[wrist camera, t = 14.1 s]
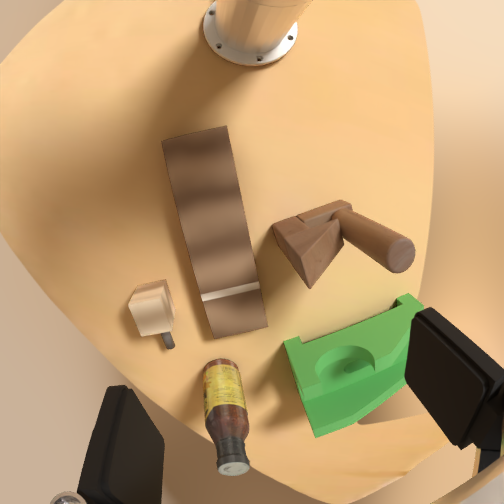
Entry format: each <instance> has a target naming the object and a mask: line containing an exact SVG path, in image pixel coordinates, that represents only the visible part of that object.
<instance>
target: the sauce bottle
mask: <svg viewBox="0 0 504 504" xmlns="http://www.w3.org/2000/svg"><path fill="white" fill-rule="evenodd" d="M203 390H204V411H205V426H206V429H207V431H208V433H209V434H210V436H211V438H212V440H213V442H214V444H215V446H216V449H217V457H218V460H217V468H218V471H219V472H220V473H221V474H223V475H230V476H236V475H240V474H243V473H245V472H247V471H248V470H249V460H248V458H247V456H246V452H245V443H244V440H245V439H246V437H247V435H248V433H249V422H248V417H247V416H248V412H247V407H246V402H245V397H244V392H243V386H242V381H241V376H240V372H239V370H238V367H237V365H236V364H235V363H234V362H232V361H229V360H226V359H216V360H214V361H211V362H210V363H208V364H207V365H206V367H205V369H204V375H203Z"/></svg>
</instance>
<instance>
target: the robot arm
mask: <svg viewBox="0 0 504 504" xmlns="http://www.w3.org/2000/svg"><path fill="white" fill-rule="evenodd" d="M311 2H312V0H216V1H214V2H213V3H212V4H211V6H210V7H209V8H208V10H207V12H206V14H205V16H204V22H203V31H204V36H205V38H206V41H207V43H208V44H209V46H210V47H211V48H212V50H213V51H214V52H215V53H217V54H218V55H219V56H220V57H222V58H224V59H225V60H227V61H230V62H232V63H235V64H239V65H243V66H261V65H266V64H270V63H272V62H274V61H277V60H279V59H280V58H282V57H283V56H284V55H285V54H286V53H287V52H288V51H289V50H290V49H291V48H292V46H293V45H294V43H295V41H296V38H297V33H298V25H297V20H298V19H299V17H300V16H301V15H302V13H303V12H304V11H305V9H306V8H307V7H308V6H309V4H310V3H311ZM211 14H213V15H211ZM288 38H289V39H290V40H288ZM217 47H221V48H220V49H217ZM257 59H260V62H259V61H257ZM404 377H405V381H406V383H407V384H408V385H409V387H410V388H411V390H412V391H413V392H414V394H415V395H416V396H417V398H418V399H419V400H420V401H421V403H422V404H423V405H424V407H425V408H426V409H427V411H428V412H429V413H430V415H431V416H432V417H433V419H434V420H435V421H436V423H437V424H438V426H439V427H440V428H441V430H442V431H443V432H444V434H445V435H446V436H447V438H448V439H449V441H450V442H451V443H452V444H453V445H455V446H456V445H457V446H458V447H459V448H460V449H461V450H462V449H464V448H465V447H467V446H468V445H470V444H471V443H474V444H475V446H476V447H477V448H476V456H475V462H474V469H473V475H472V478H471V479H470V480H468V481H467V482H465V483H464V484H462V485H460V486H459V487H458V488H456V489H454V490H453V491H451V492H449V493H448V494H446V495H444V496H443V497H441V498H439V499H438V500H436V501H434V502H432V503H430V504H504V369H503V368H502V367H501V366H500V365H499V364H497V363H496V362H495V361H494V360H493V359H492V358H491V357H490V356H489V355H488V354H486V353H485V352H484V351H483V350H482V349H481V348H479V347H478V346H477V345H476V344H475V343H474V342H473V341H472V340H470V339H469V338H468V337H467V336H466V335H464V334H463V333H462V332H461V331H460V330H459V329H457V328H456V327H455V326H454V325H453V324H451V323H450V322H449V321H448V320H447V319H445V318H444V317H443V316H442V315H441V314H440V313H438V312H437V311H436V310H435V309H433V308H431V307H429V308H426V309H424V310H421V311H419V312H417V313H415V315H414V318H413V319H412V320H411V328H410V337H409V346H408V353H407V360H406V367H405V373H404ZM164 447H165V446H164V439H163V437H162V435H161V434H160V433H159V431H158V429H157V428H156V426H155V425H154V423H153V422H152V420H151V419H150V417H149V416H148V414H147V413H146V411H145V409H144V408H143V406H142V404H141V403H140V401H139V399H138V398H137V396H136V394H135V393H134V391H133V390H132V389H128V388H127V386H125V385H118V386H109V387H108V388H107V390H106V393H105V396H104V399H103V402H102V405H101V408H100V411H99V415H98V418H97V421H96V425H95V428H94V430H93V432H92V436H91V439H90V442H89V446H88V450H87V453H86V457H85V461H84V464H83V468H82V472H81V476H80V480H79V485H78V489H77V493H74V492H70V491H69V492H63V493H60V494H58V495H57V496H55V497H54V498H53V499H52V501H51V502H50V504H161V497H162V477H163V461H164Z"/></svg>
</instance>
